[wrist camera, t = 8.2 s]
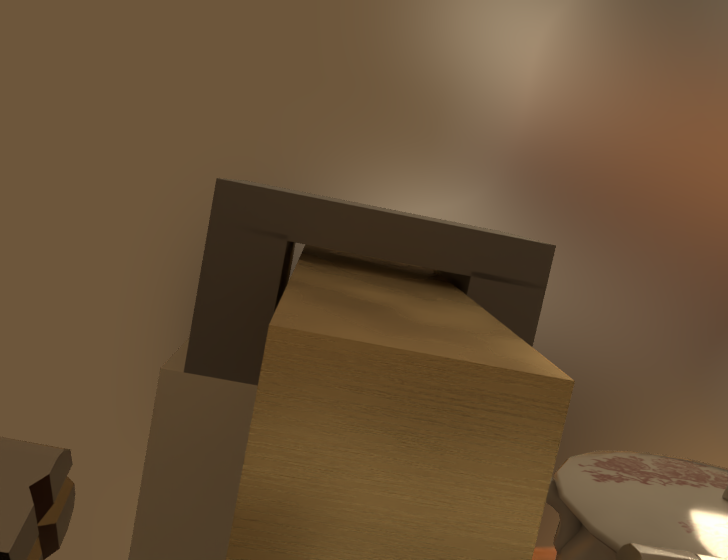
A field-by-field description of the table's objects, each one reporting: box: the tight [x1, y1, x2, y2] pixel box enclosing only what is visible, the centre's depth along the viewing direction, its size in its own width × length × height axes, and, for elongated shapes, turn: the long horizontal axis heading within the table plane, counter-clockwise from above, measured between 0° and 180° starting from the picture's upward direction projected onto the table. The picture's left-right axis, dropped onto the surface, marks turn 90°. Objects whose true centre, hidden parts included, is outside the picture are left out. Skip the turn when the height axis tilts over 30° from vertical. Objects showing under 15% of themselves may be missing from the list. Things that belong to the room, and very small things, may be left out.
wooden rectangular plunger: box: [226, 245, 575, 560], centre depth 19 cm, size 21×4×4 cm, turn 3°
